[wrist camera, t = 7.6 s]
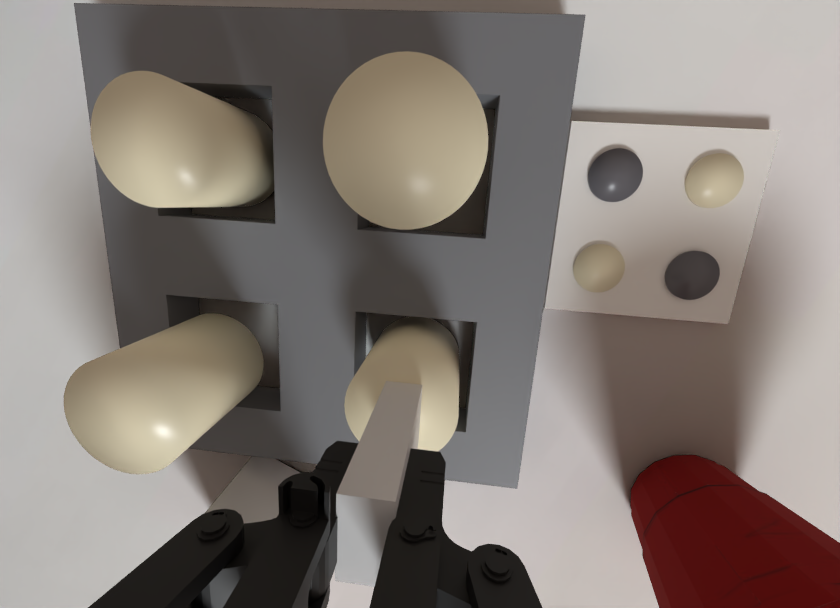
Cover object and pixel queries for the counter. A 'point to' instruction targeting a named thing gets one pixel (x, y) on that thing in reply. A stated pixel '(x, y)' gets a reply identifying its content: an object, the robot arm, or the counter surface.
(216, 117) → the cream rounded cylinder
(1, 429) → the counter surface
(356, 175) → the cream domed cylinder
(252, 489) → the milk carton
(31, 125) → the counter surface
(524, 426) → the board
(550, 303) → the card
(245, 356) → the cream rounded cylinder
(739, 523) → the plastic cup
